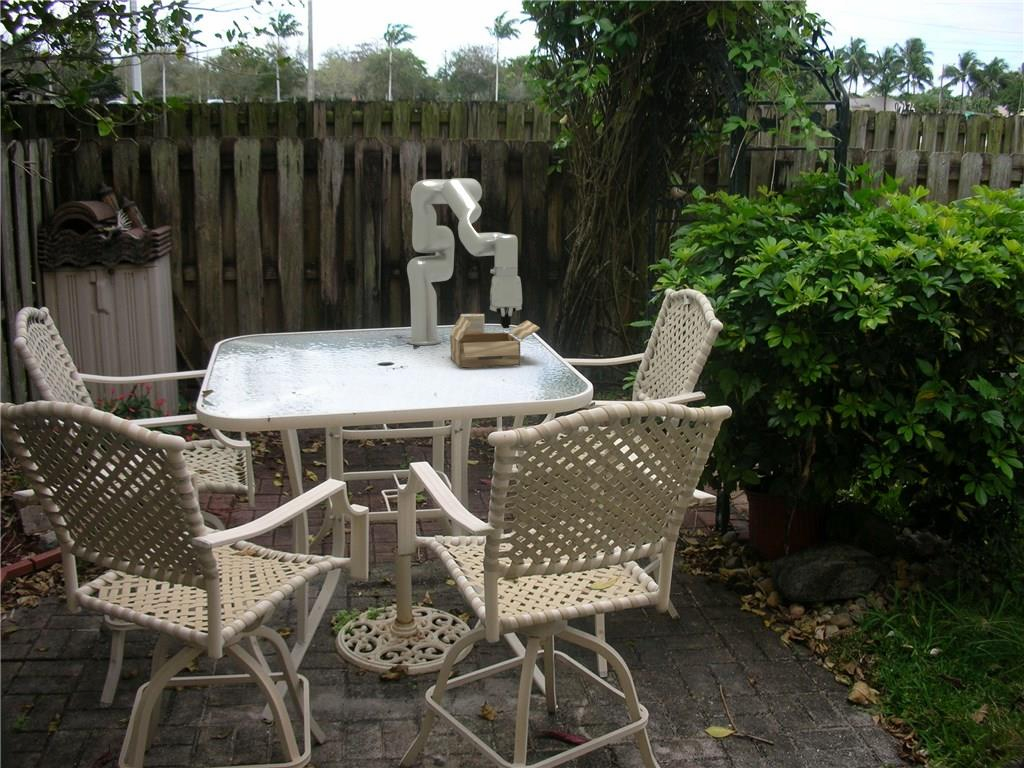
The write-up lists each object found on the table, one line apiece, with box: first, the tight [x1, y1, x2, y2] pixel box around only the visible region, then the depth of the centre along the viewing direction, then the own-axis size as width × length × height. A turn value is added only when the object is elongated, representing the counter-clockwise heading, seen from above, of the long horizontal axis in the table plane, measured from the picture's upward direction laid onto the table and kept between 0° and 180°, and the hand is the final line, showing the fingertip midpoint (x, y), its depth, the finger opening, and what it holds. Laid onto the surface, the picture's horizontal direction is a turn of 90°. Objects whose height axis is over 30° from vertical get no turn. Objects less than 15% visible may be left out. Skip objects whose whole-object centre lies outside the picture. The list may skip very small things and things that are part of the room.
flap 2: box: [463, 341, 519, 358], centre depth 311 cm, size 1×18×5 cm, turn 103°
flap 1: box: [449, 315, 471, 342], centre depth 318 cm, size 16×1×7 cm
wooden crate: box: [449, 332, 521, 369], centre depth 321 cm, size 17×20×8 cm
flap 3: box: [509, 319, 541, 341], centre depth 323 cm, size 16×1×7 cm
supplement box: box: [459, 313, 486, 333], centre depth 339 cm, size 8×5×13 cm, turn 84°
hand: (505, 327), depth 321 cm, fingers closed
